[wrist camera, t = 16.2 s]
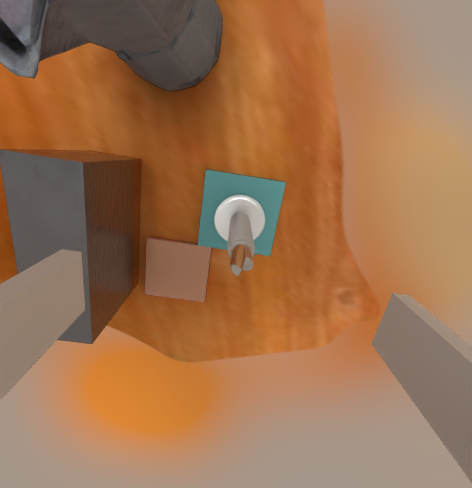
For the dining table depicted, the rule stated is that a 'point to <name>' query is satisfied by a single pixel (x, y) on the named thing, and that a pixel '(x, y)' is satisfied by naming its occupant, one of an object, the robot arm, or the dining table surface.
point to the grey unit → (78, 222)
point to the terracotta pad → (176, 269)
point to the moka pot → (116, 35)
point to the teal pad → (234, 184)
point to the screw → (240, 229)
